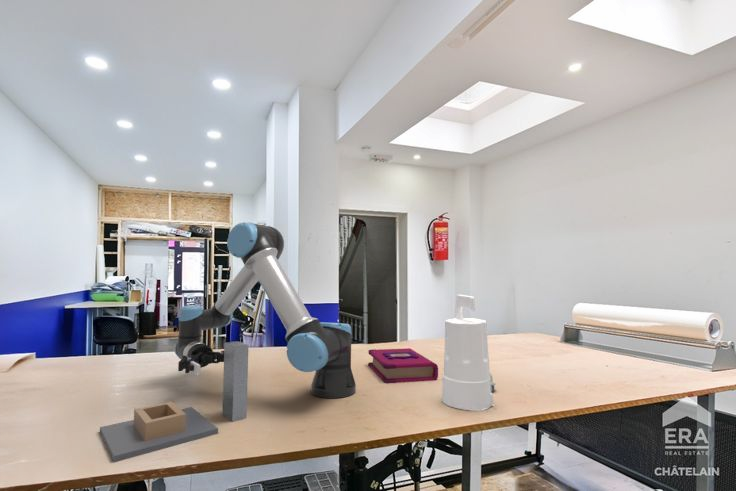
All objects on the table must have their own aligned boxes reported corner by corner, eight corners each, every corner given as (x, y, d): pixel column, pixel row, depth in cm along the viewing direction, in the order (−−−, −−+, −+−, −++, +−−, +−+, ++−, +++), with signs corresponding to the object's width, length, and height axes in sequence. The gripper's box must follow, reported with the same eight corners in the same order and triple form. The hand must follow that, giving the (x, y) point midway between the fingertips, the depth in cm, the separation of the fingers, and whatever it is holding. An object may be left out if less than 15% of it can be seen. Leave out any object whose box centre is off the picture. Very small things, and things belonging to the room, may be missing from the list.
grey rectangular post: (235, 411, 112) (238, 341, 113) (246, 418, 106) (248, 344, 108) (222, 414, 109) (224, 342, 110) (232, 421, 104) (234, 346, 105)
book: (413, 363, 172) (413, 346, 173) (438, 381, 145) (438, 361, 145) (367, 366, 167) (367, 348, 168) (384, 384, 140) (384, 363, 141)
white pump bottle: (503, 406, 117) (501, 296, 119) (463, 413, 111) (462, 297, 113) (469, 391, 131) (468, 293, 133) (432, 397, 125) (432, 294, 127)
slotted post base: (191, 411, 111) (192, 392, 111) (218, 433, 96) (218, 412, 97) (99, 432, 96) (100, 410, 97) (114, 462, 82) (115, 436, 82)
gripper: (233, 360, 139) (260, 372, 123) (157, 371, 122) (177, 387, 107) (234, 339, 140) (261, 348, 124) (158, 348, 123) (178, 359, 107)
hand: (222, 366), depth 115 cm, fingers open, 13 cm apart
